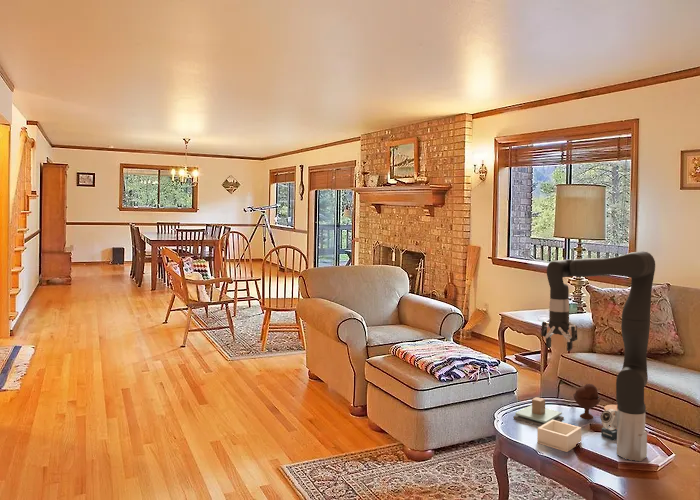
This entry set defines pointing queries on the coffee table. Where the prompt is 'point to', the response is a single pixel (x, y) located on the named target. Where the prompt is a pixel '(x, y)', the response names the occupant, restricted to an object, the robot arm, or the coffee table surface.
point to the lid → (538, 411)
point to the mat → (535, 420)
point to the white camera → (611, 408)
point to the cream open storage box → (559, 435)
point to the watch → (606, 420)
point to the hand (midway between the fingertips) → (558, 348)
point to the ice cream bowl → (587, 399)
